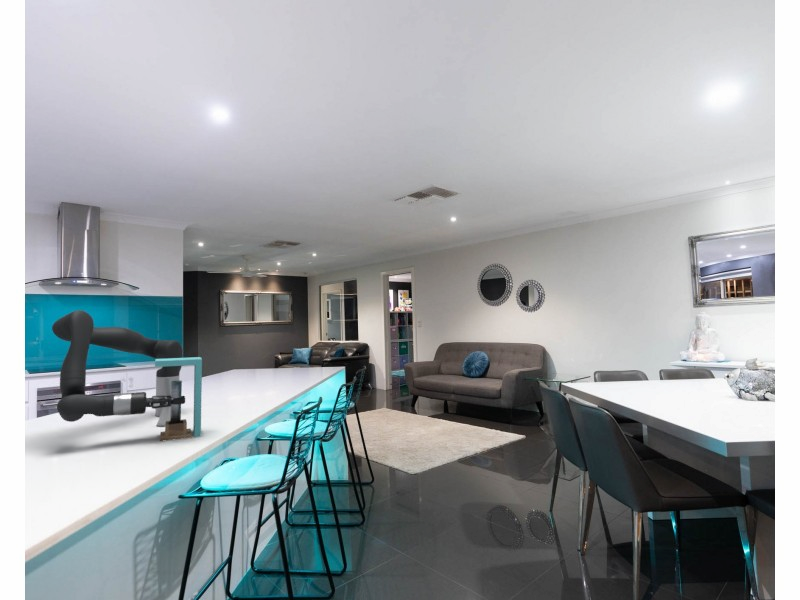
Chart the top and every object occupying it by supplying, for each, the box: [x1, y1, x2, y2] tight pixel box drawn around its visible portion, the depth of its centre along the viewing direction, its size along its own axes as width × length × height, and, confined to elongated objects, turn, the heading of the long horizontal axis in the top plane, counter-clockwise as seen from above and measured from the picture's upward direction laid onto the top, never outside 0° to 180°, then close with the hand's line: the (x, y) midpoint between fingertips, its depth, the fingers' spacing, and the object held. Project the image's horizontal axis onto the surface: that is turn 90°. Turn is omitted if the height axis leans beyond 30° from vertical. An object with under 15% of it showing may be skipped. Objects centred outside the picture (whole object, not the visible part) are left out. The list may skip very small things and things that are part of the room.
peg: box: [170, 379, 183, 424], centre depth 156 cm, size 3×3×16 cm
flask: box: [156, 406, 171, 427], centre depth 173 cm, size 7×7×10 cm
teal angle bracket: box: [154, 356, 203, 438], centre depth 157 cm, size 10×15×28 cm, turn 118°
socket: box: [159, 418, 193, 442], centre depth 156 cm, size 10×10×5 cm
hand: (184, 399), depth 158 cm, fingers closed on peg, 3 cm apart
